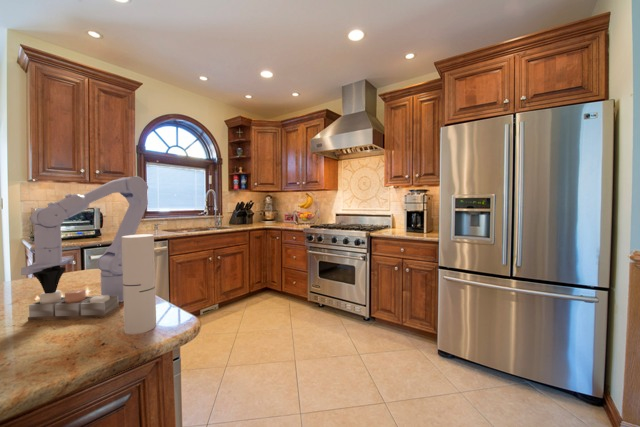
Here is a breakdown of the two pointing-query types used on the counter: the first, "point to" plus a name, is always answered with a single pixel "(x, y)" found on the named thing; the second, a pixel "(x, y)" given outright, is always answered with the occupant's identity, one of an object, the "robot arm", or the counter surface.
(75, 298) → the middle knob
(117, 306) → the mount
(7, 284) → the counter surface
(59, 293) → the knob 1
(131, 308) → the cylindrical container
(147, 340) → the counter surface
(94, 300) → the knob
